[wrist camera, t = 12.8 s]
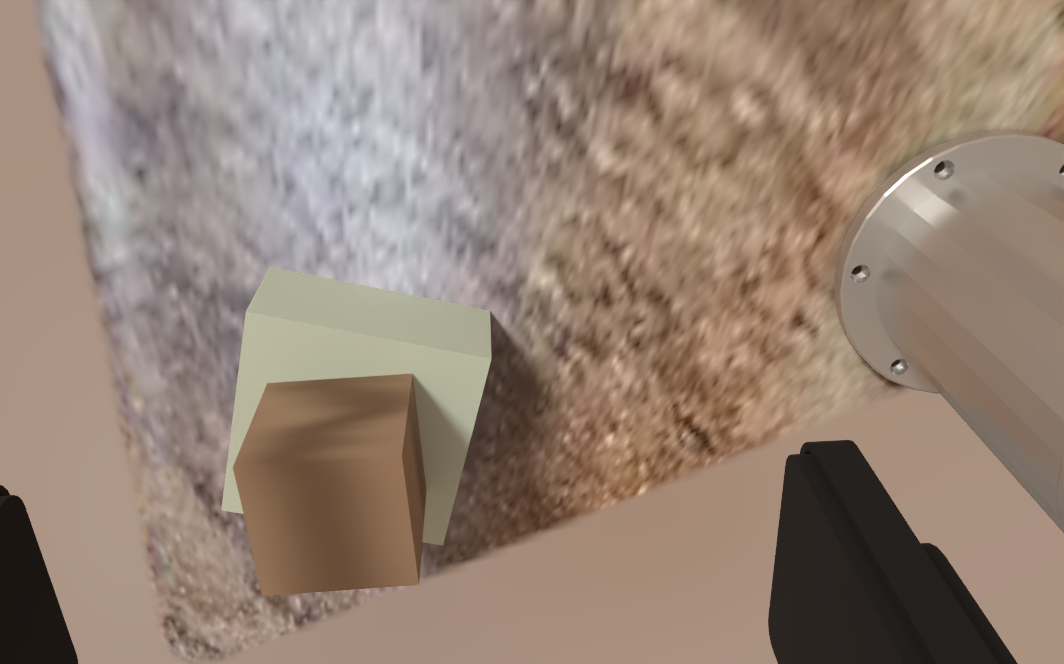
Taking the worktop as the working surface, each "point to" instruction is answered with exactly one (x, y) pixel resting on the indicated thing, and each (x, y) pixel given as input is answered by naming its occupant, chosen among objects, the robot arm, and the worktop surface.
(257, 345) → the sage block
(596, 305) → the worktop surface
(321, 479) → the walnut block
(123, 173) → the worktop surface
